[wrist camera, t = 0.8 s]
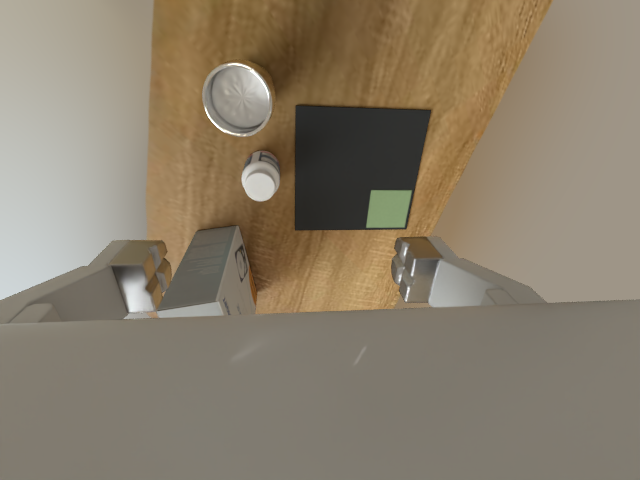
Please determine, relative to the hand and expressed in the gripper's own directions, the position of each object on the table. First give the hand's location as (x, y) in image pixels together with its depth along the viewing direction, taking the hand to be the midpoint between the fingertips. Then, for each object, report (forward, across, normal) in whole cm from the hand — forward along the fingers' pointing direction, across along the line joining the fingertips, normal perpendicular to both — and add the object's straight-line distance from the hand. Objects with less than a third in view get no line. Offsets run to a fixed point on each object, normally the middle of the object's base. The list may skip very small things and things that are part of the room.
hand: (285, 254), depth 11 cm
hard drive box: (+39, +10, +26) cm, 48 cm away
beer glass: (+39, +4, -3) cm, 39 cm away
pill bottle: (+39, +3, +8) cm, 40 cm away
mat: (+39, -12, +9) cm, 41 cm away
